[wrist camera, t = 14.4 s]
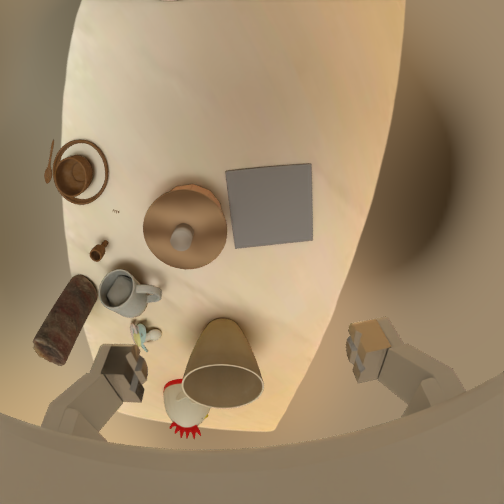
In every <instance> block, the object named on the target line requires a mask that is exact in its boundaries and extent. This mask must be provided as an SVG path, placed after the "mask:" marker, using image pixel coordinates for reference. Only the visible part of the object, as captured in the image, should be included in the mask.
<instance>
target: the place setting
mask: <svg viewBox="0 0 504 504" xmlns="http://www.w3.org/2000/svg"><path fill="white" fill-rule="evenodd" d="M77 143H86V144H89V145H91V146H92V147H94V148H95V149H96V150H97V151H98V153H99V154H100V156H101V158H102V160H103V162H104V166H105V181H104V184H103V186H102V188H101V190H100V191H99V192H98V193H97V194H96V195H95V196H93V197H91V198H88V199H78V198H75V197H76V196H78V195H80V194H81V193H82V192H84V191H85V190H86V189H87V188H88V187H89V185H90V183H91V181H92V176H93V172H92V167H91V165H90V163H89V162H88V160H87V159H85V158H84V157H82V156H79V155H73V156H70V157H67V158H65V159H63V160H61V156H62V155H63V153H64V152H65V150H66V149H67V148H69V147H70V146H72V145H74V144H77ZM53 147H54V140H53V141H52V144H51V150H50V157H49V164H48V167H47V169H46V171H45V175H44V177H45V181H46V183H49V182H50V180H51V178H52V170H51V158H52V152H53ZM53 178H54V182H55V185H56V187H57V189H58V191H59V192H60V194H61V195H62V196H63V197H64V198H65V199H66V200H68V201H69V202H71V203H74V204H78V205H84V204H89V203H91V202H93V201H94V200H96V199H97V198H98V197H99V196H100V195H101V194H102V192H103V190H104V188H105V186H106V183H107V179H108V166H107V162H106V159H105V157H104V155H103V153H102V152H101V150H100V149H99V148H98V147H97V146H96V145H95V144H93V143H91V142H89V141H86V140H74V141H71V142H69V143H67V144H65V145H64V146H63V147H62V148H61V149H60V150H59V152H58V153H57V155H56V157H55V160H54V164H53ZM113 210H114V209H113ZM116 213H117V211H116ZM118 213H119V211H118ZM107 244H108V241H107V240H105V241H104V242H102V244H101V245H96V246H95V247H94V248H93V249H92V250H91V252H90V257H91V259H92V260H93V261H96V262H98V261H100V260H101V259H102V257H103V256H104V254H105V247H106V246H107Z"/></svg>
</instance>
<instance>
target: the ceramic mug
mask: <svg viewBox="0 0 504 504" xmlns="http://www.w3.org/2000/svg"><path fill="white" fill-rule="evenodd" d="M147 293H149V294H154V295H147ZM161 293H162V291H161V289H160V288H158V287H156V286H152V285H141V284H140V283H139V282H138V281H137V280H136V279H135V278H134V277H133V276H132V274H131V273H129V272H128V271H126V270H123V269H116V270H113V271H111V272H110V273H108V274H107V275H106V276H105V277H104V279H103V280H102V282H101V284H100V288H99V298H100V301H101V303H102V304H103V305H104V306H105V307H106V308H108V309H110V310H112V311H114V312H116V313H118V314H120V315H122V316H124V317H129V318H133V317H137V316H139V315H141V314H142V313H143V312H144V311H145V309H146V307H147V304H148V303H150V302H157V301H159V300H161Z"/></svg>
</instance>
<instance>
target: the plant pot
mask: <svg viewBox="0 0 504 504" xmlns="http://www.w3.org/2000/svg"><path fill="white" fill-rule="evenodd" d="M182 390H183V392H184V393H185V395H186V396H187V397H188V398H189V399H191V400H192V401H194V402H196V403H198V404H200V405H203V406H206V407H211V408H218V409H230V408H237V407H241V406H245V405H247V404H250V403H252V402H253V401H255V400H256V399H258V398H259V397H260V396H261V394H262V392H263V390H264V383H263V380H262V376H261V373H260V370H259V367H258V364H257V361H256V359H255V356H254V354H253V352H252V349H251V347H250V345H249V343H248V341H247V339H246V337H245V336H244V334H243V332H242V331H241V329H240V328H239V326H238V325H237V324H236V323H235V322H234V321H232V320H229V319H224V318H221V319H216V320H213V321H211V322H210V323H209V324H208V325H207V327H206V328H205V329H204V331H203V332H202V334H201V336H200V338H199V339H198V341H197V343H196V345H195V347H194V349H193V351H192V353H191V356H190V358H189V361H188V364H187V367H186V370H185V373H184V376H183V380H182Z"/></svg>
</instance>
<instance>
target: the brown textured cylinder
mask: <svg viewBox="0 0 504 504" xmlns="http://www.w3.org/2000/svg"><path fill="white" fill-rule="evenodd" d="M96 300H97V293H96V290H95V288H94V286H93V284H92V283H91V282H90V281H89V280H88V279H86V278H85V277H84V276H83V275H77V276H74V277H73V278H72V279H71V280H70V282H69V283H68V284H67V286H66V288H65V289H64V291H63V292H62V294H61V295H60V297H59V298H58V300H57V302H56V303H55V305H54V306H53V308H52V309H51V311H50V313H49V314H48V316H47V318H46V319H45V321H44V322H43V324H42V326H41V328H40V329H39V331H38V333H37V334H36V336H35V338H34V340H33V343H34V350H35V352H36V353H37V354H38V355H39V356H40V357H42V358H44V359H46V360H48V361H49V362H53V363H54V364H57V365H59V366H62V365H64V364H65V363H66V361H67V359H68V356H69V354H70V352H71V350H72V348H73V346H74V343H75V341H76V339H77V337H78V335H79V333H80V331H81V329H82V327H83V325H84V323H85V321H86V319H87V317H88V315H89V314H90V312H91V310H92V308H93V306H94V304H95V302H96Z"/></svg>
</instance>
